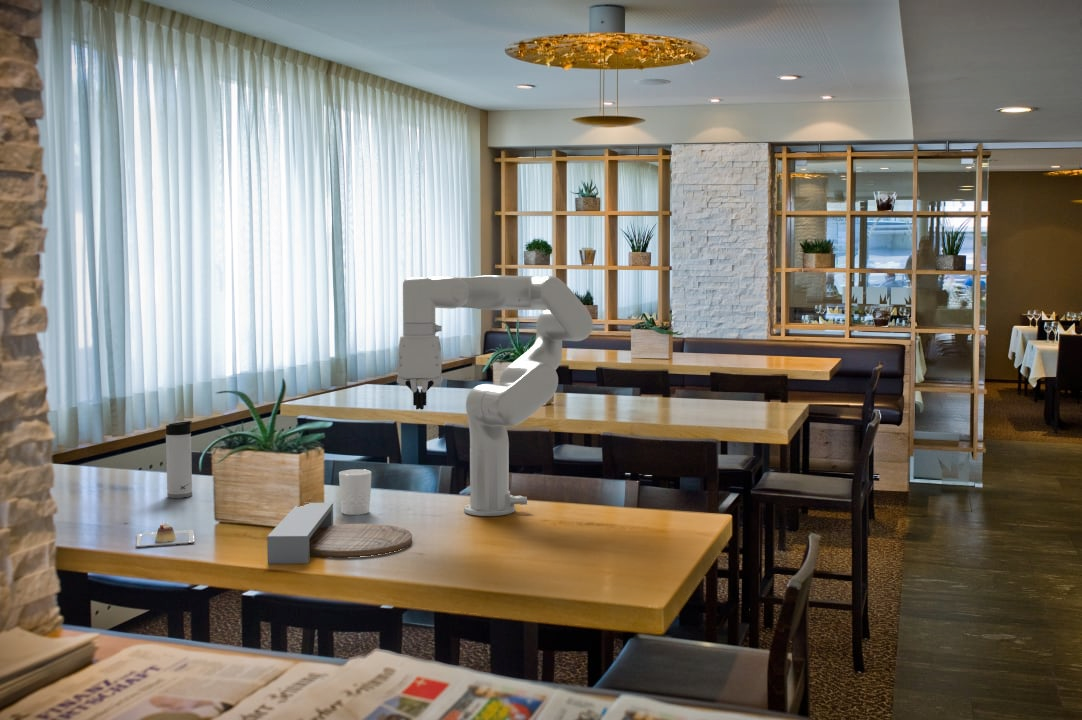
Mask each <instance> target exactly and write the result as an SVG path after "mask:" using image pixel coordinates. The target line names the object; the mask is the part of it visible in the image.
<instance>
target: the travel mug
mask: <svg viewBox="0 0 1082 720" xmlns="http://www.w3.org/2000/svg"><path fill="white" fill-rule="evenodd" d="M192 423H193V422H192V420H188V421H180V422H173V423H168V425H167V424H166V425H165V431H166V432H165V450H166V452H165V454H166V455H165V456H166V459H165V460H166V489H167V493H166V494H167V496H166V497H167V498H169V497H170V498H169V499H174V498H179V499H184V498H183V497H187V498H190V497H189V496H193V474H192V469H193V468H192V467H193V466H192V465H193V464H192V462H193V461H192V436H191V435H192V433H191V425H192Z"/></svg>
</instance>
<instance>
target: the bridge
mask: <svg viewBox="0 0 1082 720" xmlns="http://www.w3.org/2000/svg"><path fill="white" fill-rule="evenodd" d="M308 503H309V504H306V505H304V506H300V507H297V506H296V505H295V506H294V507H293V508H292V509H291V510H290V511H289V512H288V514H286V515H285V517H284V518H283V519H282V520H281V521H280V522H279V523H278V524H277V525H276V526H275V527H274V528H273V529H272V531H270V532H269V534H268V535H266V538H267V541H266V542H267V543H266V547H267V564H270V565H271V564H308V563H309V562H310V560H311V558H310V556H311V555H310V551H309V539H310V537H311V536H312V535H313V533H314V532H315V531H316V530H317V528H322V527H327V526H334V502H308Z"/></svg>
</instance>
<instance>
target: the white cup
mask: <svg viewBox="0 0 1082 720" xmlns="http://www.w3.org/2000/svg"><path fill="white" fill-rule="evenodd" d="M338 480H339V483H338V484H339V495H340V503H341V504H340V505H341V507H340V508H341V513H342V514H343V515H346V516H347V515H349V516H360V514H362V515H365V514H369V513H370V511H371V509H370V507H371V506H370V505H371V494H372V493H371V492H372V471H371V470H368V469H347V470H342V471H339V472H338Z"/></svg>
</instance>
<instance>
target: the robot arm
mask: <svg viewBox="0 0 1082 720" xmlns="http://www.w3.org/2000/svg"><path fill="white" fill-rule="evenodd" d="M458 308H465V309H475V310H484V311H485V310H486V311H507V310H508V311H517V310H518V311H524V310H525V311H530V310H531V311H534V310H535V311H536V310H537V311H541V312H540V314H539V315H538V317H537V320H536V326H535V327H536V328H535V329H536V332H535V340H534V343H533V344H532V346H531V347H530V348H529V349H528V350H526V351H525V352H524V353H523V354H522V355H520V356H519V357H517V358H516V359H515V360H514V361H513V362H511V363H510V364H509V365H508V366H507V367H505V369H504V370H503V371H502V372H501V375H500V376H499V384H493V383H482V384H478V385H476V386H474V387H472V389H471V390H470V391H469V392H468V395H467V397H466V402H465V408H466V417H467V420H468V429H469V483H470V484H469V492H470V493H469V495H470V496H469V503H468V504H466V505H464V507H463V512H464V513H465V514H467V515H472V516H476V517H477V516H479V517H499V516H506V515H510V514H512V513H515V511H516V506H515V505H521V506H522V505H528V497H527V496H522V495H512V494H511V490H510V489H509V486H510V485H509V483H510V481H509V480H510V477H509V476H510V475H509V474H510V473H509V471H510V470H509V468H510V467H509V464H510V461H509V455H510V454H509V452H510V451H509V450H510V449H509V448H510V442H509V435H508V430H507V427H515V426H518V425H520V424H521V423H524V422H525V421H526V420H528V419H529V418H531V416H532V415H533V414H535V413H536V412H537V411H538V410H539V409H540V408H542V407H543V406H545V405H546V403H548V402H549V401H550V400H551V399H552V398H553V397H554V395H555V393H556V391H557V389H558V386H559V385H558V384H559V376H558V373H557V369H558V368H559V366H560V364H561V362H562V357H563V341H569V342H570V341H571V342H581V341H583V340H586V339H587V338H588V337H589V336H590V335H591V333H592V332H593V327H594V324H593V323H594V322H593V318H592V315H591V313H590V311H589V310H588V309H587V307H586V306H585V305H584V304H583V302H582V301H581V300H580V299H579V298H578V297H577V295H576V294H575V293H574V292H573V291H572V289H571V288H569V286H568V285H567V284H566V283H565V282H564V281H563V280H562V279H560V278H558V277H556V276H554V275H551V276H550V275H548V276H547V275H497V274H496V275H495V274H494V275H478V276H463V277H462V276H461V277H459V276H429V277H406V278H405V279H404V280H403V282H402V333H403V334H402V336H400V338H399V344H398V349H397V351H398V352H397V378H396V384H399V385H403V386H406V387H407V388H408V389H409V390H410V391H411V392H412V397H413V398H412V401H413V402H412V403H413V404H412V405H413V407H414V406H415V410H424V408H425V406H427V391H428V390H429V389H431V388H432V387H433V386H436V385H440V384H442V383H443V381H444V380H443V376H442V373H443V371H442V370H443V363H442V362H443V360H442V347H441V340H440V336H438V335H437V333H439V332H442V329H443V325H439V324H436V309H448V310H449V309H452V310H453V309H458ZM417 380H422V384H421V385H422V386H421V387H422V388H421V389H419V388H418V382H417Z"/></svg>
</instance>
